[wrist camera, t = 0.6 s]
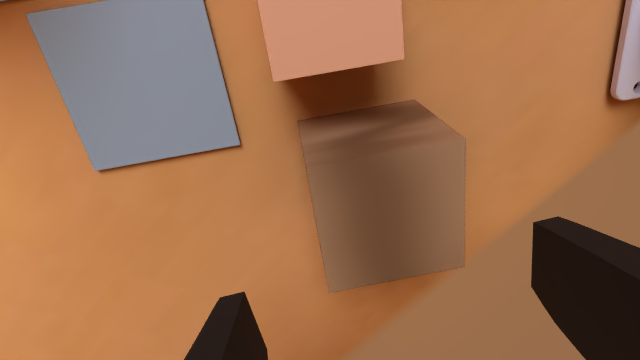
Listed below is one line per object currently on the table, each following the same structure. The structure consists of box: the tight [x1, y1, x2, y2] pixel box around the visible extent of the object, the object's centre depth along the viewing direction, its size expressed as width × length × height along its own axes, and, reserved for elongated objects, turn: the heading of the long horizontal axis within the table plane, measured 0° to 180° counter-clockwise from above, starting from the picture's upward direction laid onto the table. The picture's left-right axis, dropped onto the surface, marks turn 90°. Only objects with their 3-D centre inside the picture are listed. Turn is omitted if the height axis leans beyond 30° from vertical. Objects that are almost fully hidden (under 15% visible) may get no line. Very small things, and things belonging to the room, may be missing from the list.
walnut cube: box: [297, 100, 466, 293], centre depth 15 cm, size 5×5×5 cm
